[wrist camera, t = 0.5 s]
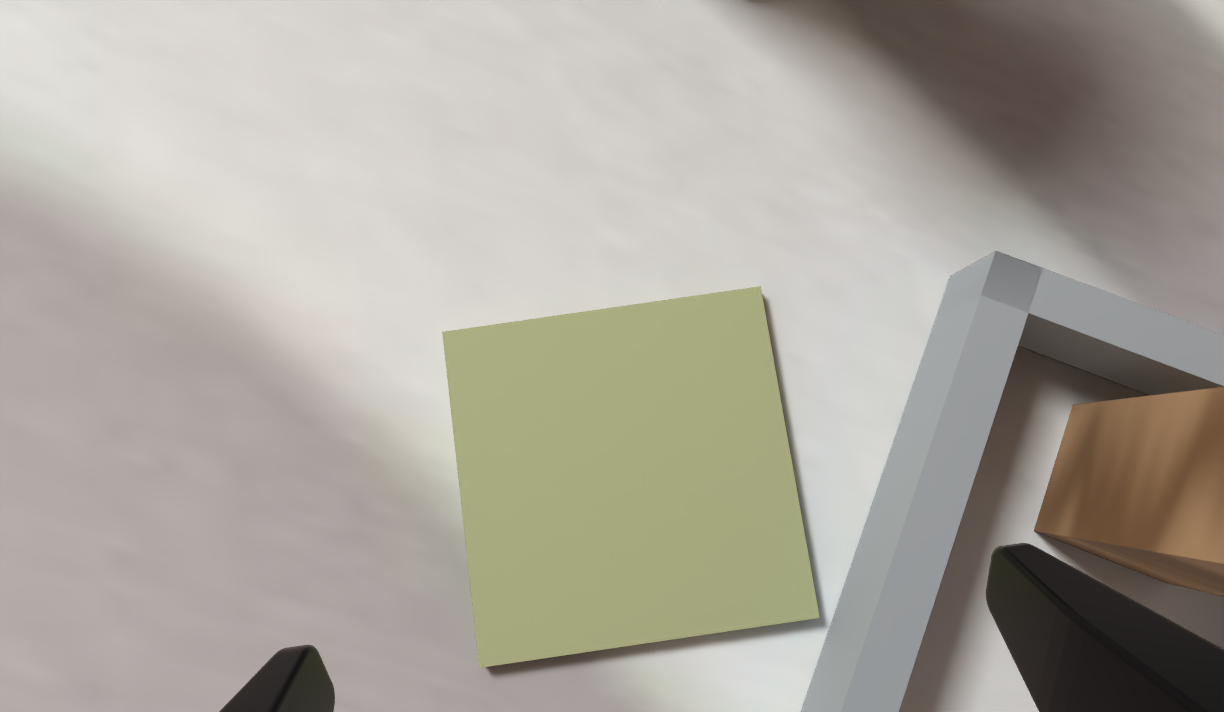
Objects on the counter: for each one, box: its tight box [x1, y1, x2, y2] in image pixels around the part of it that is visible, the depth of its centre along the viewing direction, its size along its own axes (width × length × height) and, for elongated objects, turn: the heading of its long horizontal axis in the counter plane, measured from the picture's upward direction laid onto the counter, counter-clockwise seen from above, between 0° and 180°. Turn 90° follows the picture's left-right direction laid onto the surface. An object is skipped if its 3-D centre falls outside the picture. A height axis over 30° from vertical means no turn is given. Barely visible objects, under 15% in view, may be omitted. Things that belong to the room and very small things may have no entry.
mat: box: [442, 286, 820, 668], centre depth 24 cm, size 11×11×1 cm
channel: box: [801, 251, 1224, 712], centre depth 21 cm, size 18×15×3 cm
